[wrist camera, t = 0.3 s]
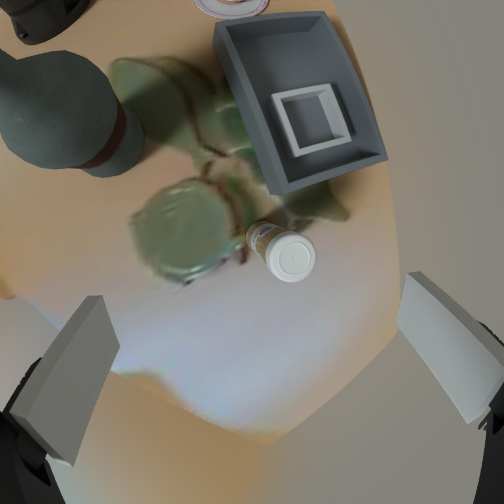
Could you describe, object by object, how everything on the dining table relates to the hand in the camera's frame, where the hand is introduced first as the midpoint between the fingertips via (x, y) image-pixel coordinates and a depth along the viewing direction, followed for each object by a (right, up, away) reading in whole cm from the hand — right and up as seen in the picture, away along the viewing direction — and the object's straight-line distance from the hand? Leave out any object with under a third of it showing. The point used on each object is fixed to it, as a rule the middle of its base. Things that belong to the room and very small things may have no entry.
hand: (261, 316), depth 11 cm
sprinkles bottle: (+1, +5, +27) cm, 27 cm away
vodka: (-18, +17, +21) cm, 32 cm away
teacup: (-4, +43, +19) cm, 47 cm away
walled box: (+5, +24, +24) cm, 34 cm away
